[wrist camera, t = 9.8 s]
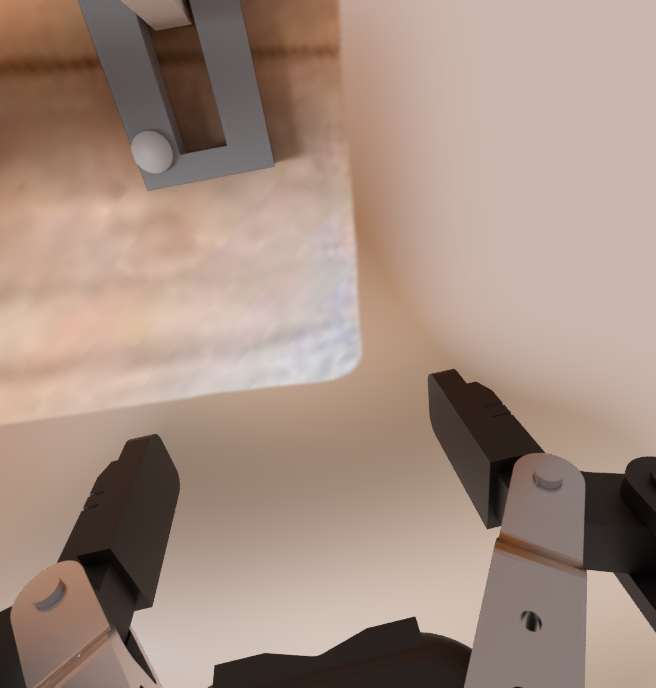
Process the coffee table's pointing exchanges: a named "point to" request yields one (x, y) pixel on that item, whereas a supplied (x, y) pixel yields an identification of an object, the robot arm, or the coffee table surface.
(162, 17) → the fader tab
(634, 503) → the robot arm
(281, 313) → the coffee table surface
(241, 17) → the console
